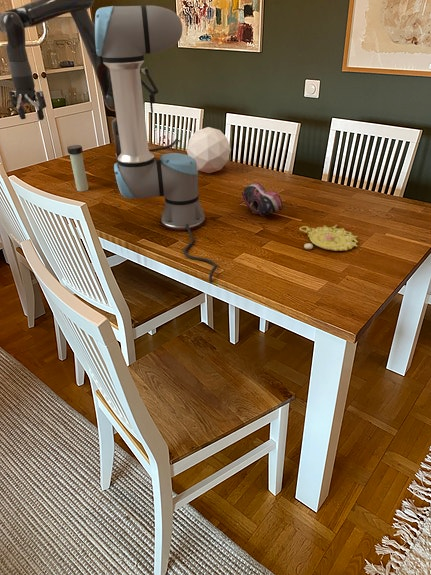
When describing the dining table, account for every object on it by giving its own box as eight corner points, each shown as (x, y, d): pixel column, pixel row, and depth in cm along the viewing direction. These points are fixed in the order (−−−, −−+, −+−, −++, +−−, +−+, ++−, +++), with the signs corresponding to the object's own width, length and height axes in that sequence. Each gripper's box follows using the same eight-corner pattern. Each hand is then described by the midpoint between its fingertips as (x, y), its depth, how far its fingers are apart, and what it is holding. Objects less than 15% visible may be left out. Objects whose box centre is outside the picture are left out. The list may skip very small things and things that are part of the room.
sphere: (214, 188, 203) (213, 162, 184) (180, 167, 207) (175, 139, 188) (238, 160, 207) (239, 131, 189) (204, 140, 212) (202, 110, 193)
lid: (85, 151, 179) (84, 145, 178) (75, 154, 175) (73, 149, 174) (75, 149, 182) (74, 144, 181) (65, 153, 178) (63, 147, 177)
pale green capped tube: (90, 188, 188) (83, 147, 178) (82, 192, 184) (74, 150, 175) (82, 186, 190) (74, 145, 181) (74, 190, 187) (65, 148, 177)
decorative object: (343, 255, 128) (285, 234, 139) (342, 262, 130) (284, 241, 140) (372, 230, 142) (317, 213, 152) (371, 237, 143) (316, 219, 153)
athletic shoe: (254, 181, 170) (227, 189, 167) (283, 176, 151) (253, 185, 147) (260, 210, 173) (234, 218, 170) (290, 209, 154) (261, 219, 150)
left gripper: (43, 73, 167) (53, 118, 176) (12, 72, 171) (23, 116, 180) (30, 76, 161) (41, 122, 170) (-1, 75, 165) (11, 120, 174)
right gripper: (160, 52, 174) (165, 109, 185) (95, 55, 171) (104, 113, 182) (161, 54, 167) (166, 113, 179) (94, 56, 165) (103, 116, 176)
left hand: (32, 119), depth 175 cm, fingers open, 8 cm apart
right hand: (135, 113), depth 181 cm, fingers open, 13 cm apart
